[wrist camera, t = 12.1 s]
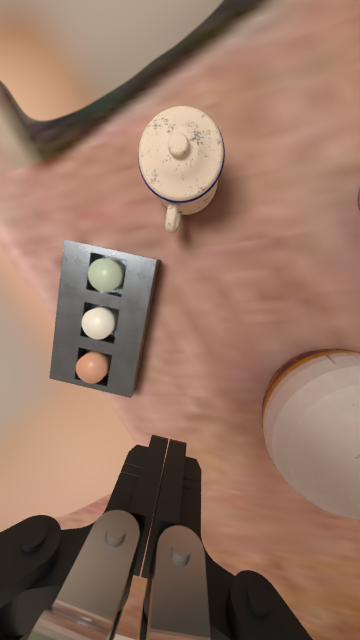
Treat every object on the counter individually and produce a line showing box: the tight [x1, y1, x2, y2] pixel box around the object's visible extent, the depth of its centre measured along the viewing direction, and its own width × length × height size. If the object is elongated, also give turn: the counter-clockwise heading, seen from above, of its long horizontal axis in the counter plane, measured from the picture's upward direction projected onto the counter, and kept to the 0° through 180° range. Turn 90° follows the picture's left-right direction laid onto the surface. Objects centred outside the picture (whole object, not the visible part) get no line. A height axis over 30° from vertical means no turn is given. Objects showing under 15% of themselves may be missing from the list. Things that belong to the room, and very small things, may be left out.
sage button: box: [88, 259, 126, 292], centre depth 37 cm, size 4×4×4 cm
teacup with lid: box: [138, 106, 225, 234], centre depth 30 cm, size 12×9×12 cm
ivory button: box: [82, 306, 119, 339], centre depth 38 cm, size 4×4×4 cm
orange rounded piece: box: [76, 350, 112, 384], centre depth 40 cm, size 4×4×4 cm
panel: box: [50, 240, 160, 398], centre depth 39 cm, size 21×13×3 cm, turn 168°
